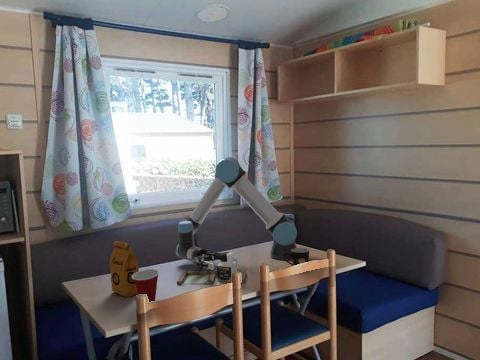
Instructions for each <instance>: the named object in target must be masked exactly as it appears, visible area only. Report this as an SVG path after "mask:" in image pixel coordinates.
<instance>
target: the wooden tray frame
mask: <svg viewBox="0 0 480 360" xmlns="http://www.w3.org/2000/svg"><path fill="white" fill-rule="evenodd" d="M237 271H239V272H241V273H242V283H241V284H245V281H244V280H246V269H237ZM216 276H217V270H189V271H188V270H185V271H182V273H181V274H180V275H179V278H178V279H177V281H176V285H178V286H179V285H183V284H184V285H206V284H207V283H208V285H213V284H214V282H215V278H216Z"/></svg>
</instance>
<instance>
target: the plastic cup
mask: <svg viewBox="0 0 480 360" xmlns="http://www.w3.org/2000/svg"><path fill="white" fill-rule="evenodd" d="M159 275H160V271H159V270H158V269H156V268H154V269H153V268H147V269H142V270H139V271H138V272H136V273H134V274H133V275H132V279H133V280H134V282H135V285H136V289H137V293H138V294H147V296H148V299H149V302H151V301H155V302H156V296H157V289H158V279H159ZM138 294H137V295H138Z"/></svg>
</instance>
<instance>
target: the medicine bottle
mask: <svg viewBox="0 0 480 360" xmlns="http://www.w3.org/2000/svg"><path fill="white" fill-rule="evenodd" d="M220 253H221V254H220V260H219V263H218V264H217V265H216V271H217V275H216V276H217V277H216V279H217V281H223V282H230V281H231V274H232V273H233V272H236V271H237V270H238V264H237V263H238V261H237V262H233V256H234V254H233V252H230V251H226V252H225V251H224V252H220ZM231 282H232V281H231Z"/></svg>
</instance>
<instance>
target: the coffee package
mask: <svg viewBox="0 0 480 360" xmlns="http://www.w3.org/2000/svg"><path fill="white" fill-rule="evenodd" d="M113 245H114V247H113V251H112V252H111V256H110V259H109V265H110V267H109V269H110V283H111V284H110V285H111V292H114V293H116V294H118V295H120V296H122V297H125V298H130V297H132V296H133V297H134V296H136V295H138V293H137V289H136V285H135V282H134V280H133V279H132V275H133V274H134V273H136V272H138V271H140V269H139V265H138V260H137V257H136V255H135V253H134V251H133V249H132V247H131V244H129V243H127V242H124V241H117V240H115V241H114V242H113Z"/></svg>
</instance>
